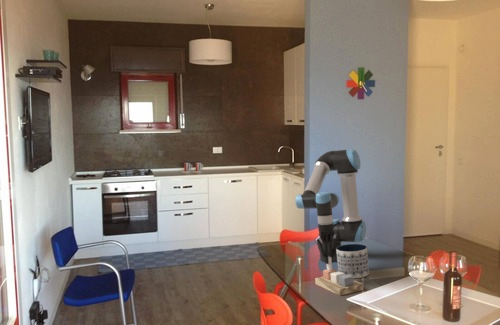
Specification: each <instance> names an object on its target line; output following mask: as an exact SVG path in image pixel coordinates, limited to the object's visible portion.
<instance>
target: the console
mask: <svg viewBox="0 0 500 325" xmlns="http://www.w3.org/2000/svg"><path fill="white" fill-rule="evenodd" d="M353 280H354V279H353ZM314 282H315V285H317V286H319V287H321V288H323V289H325V290H327V291H329V292H332V293H334V294H335V295H337V296H344V295H349V294H352V293H357V292H360V291H363V290H364V284H363V282H359V281H357V280H354V285H352V286H348V287H343V286H341V285H339V283H337V284H336V283H334V282H332V281H331V280H327V279H325V278H323V276H320V277H319V276H318V277H315V278H314Z"/></svg>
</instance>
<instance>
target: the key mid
mask: <svg viewBox="0 0 500 325" xmlns="http://www.w3.org/2000/svg"><path fill="white" fill-rule="evenodd" d="M330 275H331V281H332V282H334V283H336V284H337V283H339V278H338V277H339V276H343V275H345V274H344V273H342V272H339V271H338V270H337V272H334V273H331V274H330Z"/></svg>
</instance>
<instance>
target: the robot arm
mask: <svg viewBox="0 0 500 325" xmlns="http://www.w3.org/2000/svg"><path fill="white" fill-rule="evenodd" d="M360 169H361V158H360V156H359V153H358V151H357V150H355V149H341V150H340V149H339V150H329V151H327V152H325V153H323V154H322V155H320V156H318V158H317V159H316V161H315V163H314V164H313V171H312V173H311V175H310V177H309V180H308V182H307V184H306V186H305V188H304V191H303V193H302V194H301V193H300V194H297V195H296V197H295V205H296V208H297V209H299V210H300V209H303V210H305V209H306V210H307V209H308V210H309V209H311V210H313V209H316V215H317V217H316V218H317V223H318V224H317V226H318V228H317V230H318V237H317V238H315V239H314V241H315V243H316V244H317V249H318V250H319V260H320V261H321V260H322V261H321V262H324V263H325V264H326V269H327V270H332V269H333V263H335V262H337V251H336V248H337V247H339V246H342V243H361V242H363V241H364V240H365V237H366V232H367V224H366V222H365V221H363V218H362V217H361V216H360V213H359V212H360V211H359V202H358V201H359V200H358V192H357V191H358V189H357V180H356V175H357V174H358V173H359V172H358V170H360ZM332 171H336V173H337V175H338V176H339V177H340V185H341V187H340V188H341V197H342V207H343V208H342V209H343V217H342V218H341V221H340V219H339V218H335V219H334V218H333V209H334V208H335V207H337V206H338V205H339V202H340V197H339V195H338V194H336V193H335V192H328V191H322V192H320V191H321V188H322V185H323V183H324V180H325V179H326V176H327V175H328V174H329V173H330V172H332Z"/></svg>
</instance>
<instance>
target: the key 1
mask: <svg viewBox="0 0 500 325" xmlns="http://www.w3.org/2000/svg"><path fill="white" fill-rule="evenodd" d="M334 272H338V270H336V269H333V268H332V270H327V268H326V269H323V270H322V277H323V278H325V279H327V280H331V275H330V274H331V273H334Z"/></svg>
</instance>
